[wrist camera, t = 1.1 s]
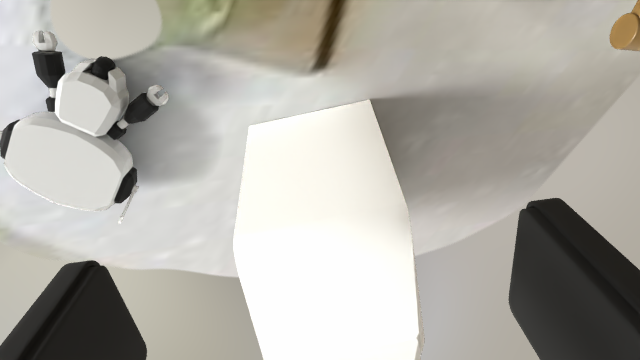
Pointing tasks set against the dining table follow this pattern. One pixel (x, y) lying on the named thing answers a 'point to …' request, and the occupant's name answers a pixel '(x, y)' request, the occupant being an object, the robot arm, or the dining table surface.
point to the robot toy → (77, 133)
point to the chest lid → (627, 31)
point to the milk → (327, 240)
